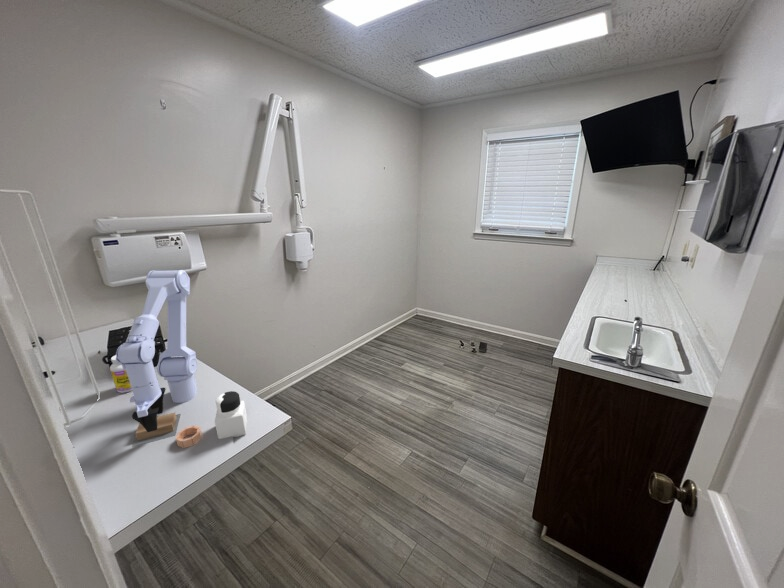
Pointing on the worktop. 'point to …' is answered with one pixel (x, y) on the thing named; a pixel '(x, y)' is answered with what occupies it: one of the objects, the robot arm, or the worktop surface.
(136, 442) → the mat
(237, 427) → the medicine bottle
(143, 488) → the worktop surface
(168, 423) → the tan cardboard box
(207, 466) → the worktop surface
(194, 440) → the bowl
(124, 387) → the supplement bottle
